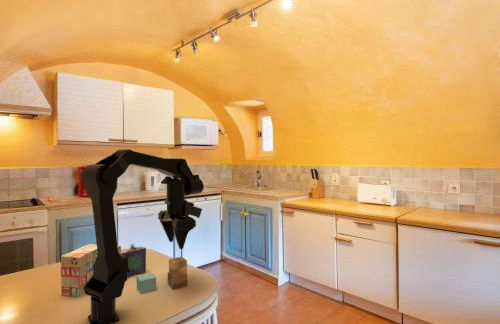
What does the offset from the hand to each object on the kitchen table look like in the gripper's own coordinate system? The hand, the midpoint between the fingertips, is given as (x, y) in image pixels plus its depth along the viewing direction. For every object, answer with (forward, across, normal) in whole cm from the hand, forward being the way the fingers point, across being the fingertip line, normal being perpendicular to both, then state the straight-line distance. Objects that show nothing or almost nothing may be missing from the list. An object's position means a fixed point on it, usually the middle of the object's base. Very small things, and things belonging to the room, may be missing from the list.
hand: (176, 245), depth 96 cm
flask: (+13, +17, +10) cm, 23 cm away
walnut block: (+13, 0, 0) cm, 13 cm away
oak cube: (+9, 0, 0) cm, 9 cm away
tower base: (+13, +3, +9) cm, 16 cm away
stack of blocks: (+13, +18, +22) cm, 31 cm away
